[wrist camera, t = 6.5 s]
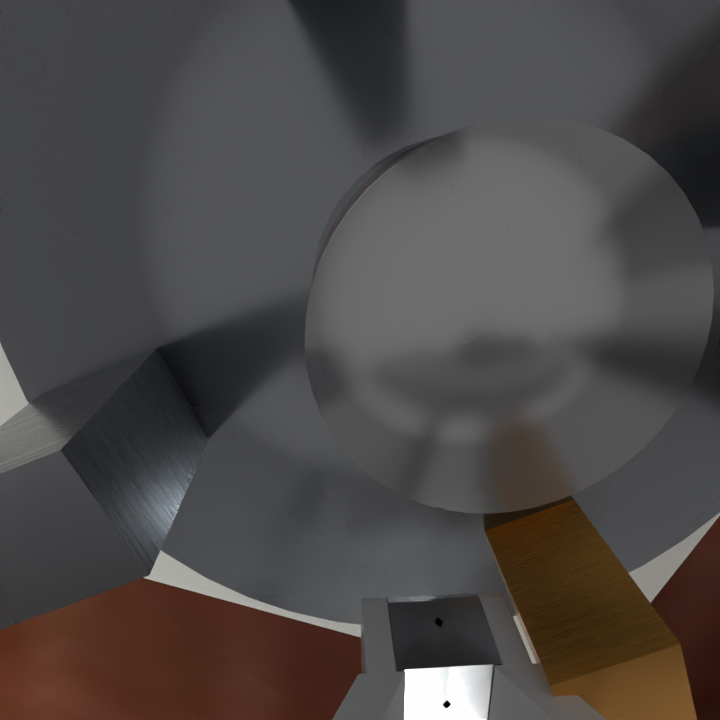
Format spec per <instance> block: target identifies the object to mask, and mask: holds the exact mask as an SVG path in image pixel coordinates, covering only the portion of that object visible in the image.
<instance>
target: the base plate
mask: <svg viewBox="0 0 720 720" xmlns="http://www.w3.org/2000/svg"><path fill="white" fill-rule="evenodd" d="M28 404H29V403H28V401H27V400H26V398H25V396H24V393H23V391H22V389H21V387H20V385H19V383H18V380H17V378H16V376H15V374H14V372H13V370H12V367H11V365H10V363H9V361H8V359H7V357H6V355H5V352H4V350H3V348H2V346H1V343H0V426H1V425H2V424H4V423H5V422H6V421H7V420H9V419H10V418H11V417H12V416H14V415H15V414H16V413H18V412H19V411H20V410H21V409H23V408H24V407H25V406H26V405H28ZM719 516H720V513H718V514H717V515H716V516H715V517H713V518H712V519H711V520H709V521H708V522H707V523H705V524H704V525H703V526H701V527H700V528H699V529H698V530H696V531H695V532H694V533H692V534H691V535H690V536H688V537H687V538H686V539H685V540H683V541H681V542H680V543H678V544H677V545H675V546H674V547H672V548H670V549H669V550H667V551H666V552H664V553H662V554H661V555H659V556H658V557H656V558H654V559H653V560H651V561H650V562H648V563H646V564H645V565H643V566H641V567H639V568H637V569H635V570H633V571H631V572H629V575H630V576H631V577H632V579H633V580H634V581H635V583H636V584H637V585H638V587H639V588H640V589H641V591H642V592H643V594H644V595H645V596H646V598H647V599H648V600H649V602H650V603H651V602H652V600H653V599H654V598H655V597H656V595H657V594H658V593H659V592H660V590H661V589H662V588H663V587H664V585H665V584H666V583H667V582H668V580H669V579H670V578H671V576H672V575H673V574H674V573H675V571H676V570H677V569H678V568H679V566H680V565H681V564H682V563H683V561H684V560H685V559H686V558H687V556H688V555H689V554H690V553H691V551H692V550H693V549H694V548H695V546H696V545H697V544H698V542H699V541H700V540H701V539H702V537H703V536H704V535H705V534H706V532H707V531H708V530H709V529H710V527H711V526H712V525H713V524H714V522H715V521H716V520H717V519H718V517H719ZM143 578H146V579H150V580H153V581H157V582H161V583H164V584H168V585H172V586H175V587H179V588H183V589H186V590H190V591H193V592H197V593H201V594H204V595H208V596H212V597H215V598H219V599H223V600H226V601H230V602H234V603H237V604H241V605H244V606H248V607H252V608H255V609H259V610H263V611H266V612H270V613H274V614H277V615H281V616H285V617H288V618H292V619H295V620H299V621H303V622H306V623H310V624H314V625H317V626H321V627H325V628H328V629H332V630H336V631H339V632H343V633H347V634H350V635H354V636H357V637H361V625H359V624H350V623H341V622H334V621H330V620H325V619H321V618H316V617H312V616H307V615H303V614H298V613H294V612H290V611H287V610H284V609H281V608H278V607H275V606H272V605H269V604H266V603H263V602H260V601H257V600H254V599H251V598H249V597H246V596H244V595H242V594H240V593H238V592H235V591H233V590H231V589H229V588H227V587H225V586H222V585H220V584H218V583H216V582H214V581H212V580H209V579H207V578H205V577H204V576H202V575H200V574H199V573H197V572H195V571H194V570H192V569H190V568H189V567H187V566H185V565H184V564H182V563H180V562H179V561H177V560H175V559H174V558H172V557H170V556H169V555H167V554H165V553H164V552H163V551H161V550H160V552H159V555H158V557H157V559H156V561H155V564H154V566H153V568H152V571H151V573H150V575H148V576H146V577H143ZM513 618H514V621H515V623H516V625H517V628H518V630H519V633H520V635H521V637H522V640H523V642H524V645H525V647H526V649H527V652H528V654H529V657H530V659H531V661H532V663H536V661H535V658H534V656H533V654H532V651H531V649H530V647H529V644H528V642H527V639H526V637H525V635H524V632H523V630H522V627H521V625H520V623H519V620H518V618H517V615H516V616H513Z"/></svg>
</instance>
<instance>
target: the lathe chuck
mask: <svg viewBox="0 0 720 720" xmlns="http://www.w3.org/2000/svg"><path fill="white" fill-rule="evenodd" d="M0 343H1V346H2V348H3V350H4V352H5V355H6V357H7V359H8V361H9V363H10V365H11V367H12V370H13V372H14V374H15V376H16V378H17V380H18V383H19V385H20V387H21V389H22V391H23V393H24V396H25V398H26V400H27V401H28V403H29V404H28V405H26V406H25V407H24V408H23V409H21V410H20V411H19V412H18V413H16V414H15V415H14V416H12V417H11V418H10V419H9V420H7V421H6V422H5V423H4V424H2V425H1V426H0V630H1V629H3V628H6V627H9V626H12V625H14V624H17V623H20V622H23V621H25V620H28V619H31V618H33V617H36V616H39V615H42V614H44V613H47V612H50V611H53V610H55V609H58V608H61V607H64V606H66V605H69V604H72V603H75V602H77V601H80V600H83V599H85V598H88V597H91V596H94V595H96V594H99V593H102V592H105V591H107V590H110V589H113V588H116V587H118V586H121V585H124V584H127V583H129V582H132V581H135V580H138V579H140V578H143V577H146V576H148V575H150V573H151V571H152V568H153V566H154V564H155V561H156V559H157V557H158V555H159V552H160V550H161V551H163V552H164V553H165V554H167V555H169V556H170V557H172V558H174V559H175V560H177V561H179V562H180V563H182V564H184V565H185V566H187V567H189V568H190V569H192V570H194V571H195V572H197V573H199V574H200V575H202V576H204V577H205V578H207V579H209V580H212V581H214V582H216V583H218V584H220V585H222V586H225V587H227V588H229V589H231V590H233V591H235V592H238V593H240V594H242V595H244V596H246V597H249V598H251V599H254V600H257V601H260V602H263V603H266V604H269V605H272V606H275V607H278V608H281V609H284V610H287V611H290V612H294V613H298V614H303V615H307V616H312V617H316V618H321V619H325V620H330V621H334V622H341V623H350V624H359V625H361V598H387V597H414V596H432V595H447V594H463V593H480V592H496V591H500V592H501V593H502V594H503V595H504V597H505V599H506V601H507V604H508V606H509V609H510V611H511V613H512V616H516V615H517V618H518V620H519V623H520V625H521V627H522V630H523V632H524V635H525V637H526V639H527V642H528V644H529V647H530V649H531V651H532V654H533V656H534V658H535V661H536V663H540V664H541V666H542V669H543V671H544V673H545V676H546V678H547V680H548V683H549V685H550V687H551V690H552V692H553V694H554V696H570V695H578V696H579V697H581V698H582V699H583V700H584V701H585V702H587V703H588V704H589V705H590V706H591V707H592V708H594V709H595V710H596V711H597V712H598V713H600V714H601V715H602V716H603V717H604V718H606V719H607V720H697V717H696V712H695V708H694V703H693V699H692V694H691V689H690V685H689V680H688V676H687V671H686V667H685V662H684V657H683V653H682V648H681V644H680V642H679V641H678V640H677V638H676V637H675V636H674V634H673V633H672V632H671V630H670V629H669V627H668V626H667V625H666V623H665V622H664V621H663V619H662V618H661V617H660V615H659V614H658V613H657V611H656V610H655V608H654V607H653V606H652V604H651V603H650V602H649V600H648V599H647V598H646V596H645V595H644V594H643V592H642V591H641V589H640V588H639V587H638V585H637V584H636V583H635V581H634V580H633V579H632V577H631V576H630V575H629V572H631V571H633V570H635V569H637V568H639V567H641V566H643V565H645V564H646V563H648V562H650V561H651V560H653V559H654V558H656V557H658V556H659V555H661V554H662V553H664V552H666V551H667V550H669V549H670V548H672V547H674V546H675V545H677V544H678V543H680V542H681V541H683V540H685V539H686V538H687V537H688V536H690V535H691V534H692V533H694V532H695V531H696V530H698V529H699V528H700V527H701V526H703V525H704V524H705V523H707V522H708V521H709V520H711V519H712V518H713V517H715V516H716V515H717V514H718V513H720V0H0Z"/></svg>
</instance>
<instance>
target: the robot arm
mask: <svg viewBox="0 0 720 720" xmlns="http://www.w3.org/2000/svg"><path fill="white" fill-rule="evenodd" d="M361 661H362V674H358V676H357V678H356V679H355V681H354V683H353V684H352V686H351V688H350V690H349V691H348V693H347V695H346V697H345V698H344V700H343V702H342V703H341V705H340V707H339V709H338V710H337V712H336V714H335V716H334V717H333V719H332V720H607V719H606V718H604V717H603V716H602V715H601V714H600V713H598V712H597V711H596V710H595V709H594V708H592V707H591V706H590V705H589V704H588V703H587V702H585V701H584V700H583V699H582V698H581V697H579V696H578V695H570V696H554V694H553V692H552V690H551V687H550V685H549V683H548V680H547V678H546V676H545V673H544V671H543V669H542V666H541V664H540V663H532V661H531V659H530V657H529V654H528V652H527V649H526V647H525V645H524V642H523V640H522V637H521V635H520V633H519V630H518V628H517V625H516V623H515V621H514V618H513V616H512V613H511V611H510V609H509V606H508V604H507V601H506V599H505V597H504V595H503V594H502V593H501V592H500V591H496V592H480V593H463V594H447V595H432V596H414V597H387V598H361Z"/></svg>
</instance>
